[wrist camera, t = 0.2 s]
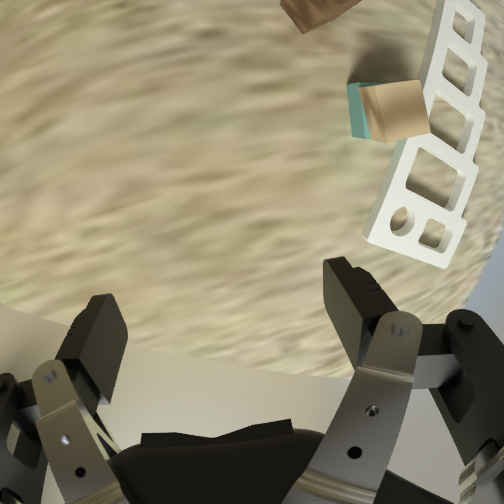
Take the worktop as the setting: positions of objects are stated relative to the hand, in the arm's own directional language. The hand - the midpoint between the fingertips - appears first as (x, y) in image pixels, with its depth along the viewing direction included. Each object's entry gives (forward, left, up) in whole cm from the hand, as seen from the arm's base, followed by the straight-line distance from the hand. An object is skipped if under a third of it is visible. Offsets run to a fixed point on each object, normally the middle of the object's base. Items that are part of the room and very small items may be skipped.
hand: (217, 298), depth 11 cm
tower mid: (-5, +22, -25) cm, 33 cm away
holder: (-3, +37, -29) cm, 47 cm away
